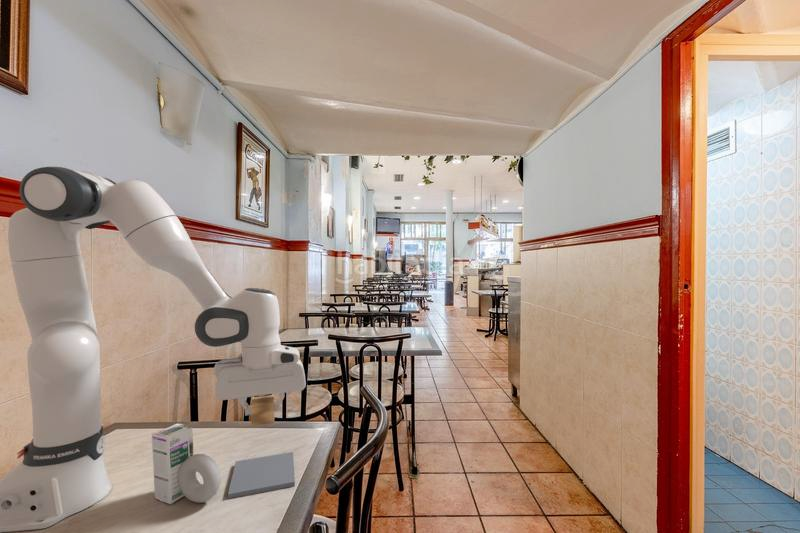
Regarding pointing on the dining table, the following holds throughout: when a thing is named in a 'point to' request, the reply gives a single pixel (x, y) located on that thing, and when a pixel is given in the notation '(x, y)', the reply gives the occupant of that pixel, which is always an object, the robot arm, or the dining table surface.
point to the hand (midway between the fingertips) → (263, 412)
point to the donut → (192, 485)
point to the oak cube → (262, 410)
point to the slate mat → (262, 475)
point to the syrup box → (170, 460)
